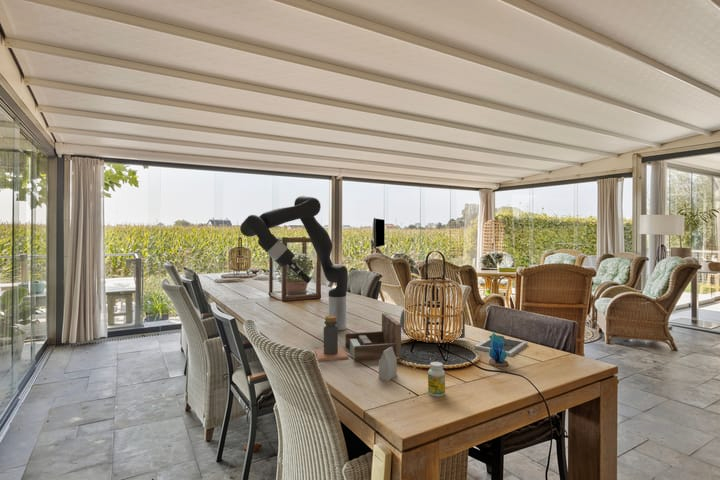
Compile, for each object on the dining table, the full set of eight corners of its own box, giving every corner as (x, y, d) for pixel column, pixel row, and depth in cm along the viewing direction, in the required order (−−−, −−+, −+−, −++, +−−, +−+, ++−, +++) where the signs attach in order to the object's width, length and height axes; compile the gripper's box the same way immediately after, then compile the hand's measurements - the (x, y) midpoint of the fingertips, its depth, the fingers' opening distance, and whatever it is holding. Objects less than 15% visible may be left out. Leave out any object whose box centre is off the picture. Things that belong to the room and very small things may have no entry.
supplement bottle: (448, 393, 127) (448, 363, 127) (438, 398, 123) (439, 368, 123) (434, 388, 131) (434, 359, 130) (424, 393, 127) (424, 363, 127)
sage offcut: (349, 349, 174) (349, 339, 174) (356, 348, 174) (356, 338, 174) (354, 359, 160) (354, 348, 160) (362, 359, 160) (362, 348, 160)
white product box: (396, 374, 143) (396, 347, 143) (388, 381, 137) (388, 352, 137) (387, 372, 145) (387, 345, 145) (378, 379, 139) (378, 350, 139)
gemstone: (485, 364, 153) (485, 334, 153) (492, 358, 160) (493, 329, 160) (504, 369, 149) (505, 337, 148) (511, 362, 156) (512, 332, 155)
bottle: (332, 355, 161) (332, 319, 160) (320, 353, 164) (320, 317, 163) (340, 352, 166) (340, 316, 165) (329, 349, 169) (329, 314, 168)
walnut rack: (345, 346, 177) (345, 315, 176) (386, 343, 181) (386, 313, 181) (355, 362, 156) (355, 326, 156) (401, 358, 161) (401, 324, 160)
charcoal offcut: (358, 349, 174) (358, 335, 173) (365, 348, 174) (365, 335, 174) (364, 357, 162) (364, 343, 162) (371, 357, 162) (371, 342, 162)
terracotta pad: (315, 351, 169) (315, 349, 169) (342, 349, 172) (342, 347, 172) (318, 361, 157) (318, 358, 157) (348, 358, 160) (348, 356, 160)
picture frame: (493, 340, 189) (474, 350, 173) (493, 334, 189) (474, 344, 173) (527, 346, 179) (511, 358, 163) (527, 340, 179) (511, 351, 163)
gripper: (287, 248, 159) (316, 275, 162) (286, 246, 173) (312, 272, 176) (274, 261, 158) (303, 289, 161) (273, 258, 172) (300, 284, 175)
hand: (308, 280), depth 169 cm, fingers open, 8 cm apart
